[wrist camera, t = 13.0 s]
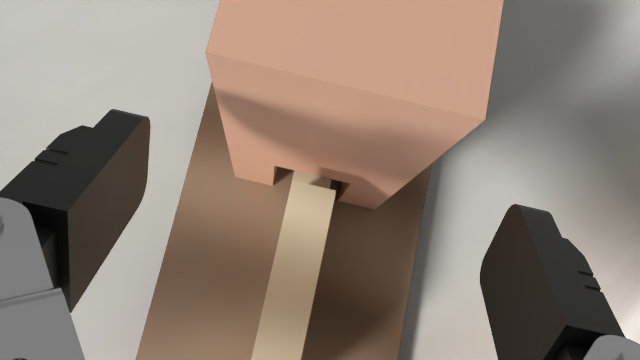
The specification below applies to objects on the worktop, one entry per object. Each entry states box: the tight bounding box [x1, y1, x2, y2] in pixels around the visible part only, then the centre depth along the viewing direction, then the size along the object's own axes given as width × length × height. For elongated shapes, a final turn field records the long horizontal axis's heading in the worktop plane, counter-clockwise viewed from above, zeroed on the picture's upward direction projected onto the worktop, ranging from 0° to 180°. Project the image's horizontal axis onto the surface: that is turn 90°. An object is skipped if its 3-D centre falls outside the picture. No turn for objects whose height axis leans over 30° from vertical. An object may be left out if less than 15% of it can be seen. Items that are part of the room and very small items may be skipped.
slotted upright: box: [205, 0, 504, 210], centre depth 18 cm, size 3×6×12 cm, turn 78°
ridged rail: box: [136, 82, 431, 360], centre depth 21 cm, size 20×10×7 cm, turn 168°
